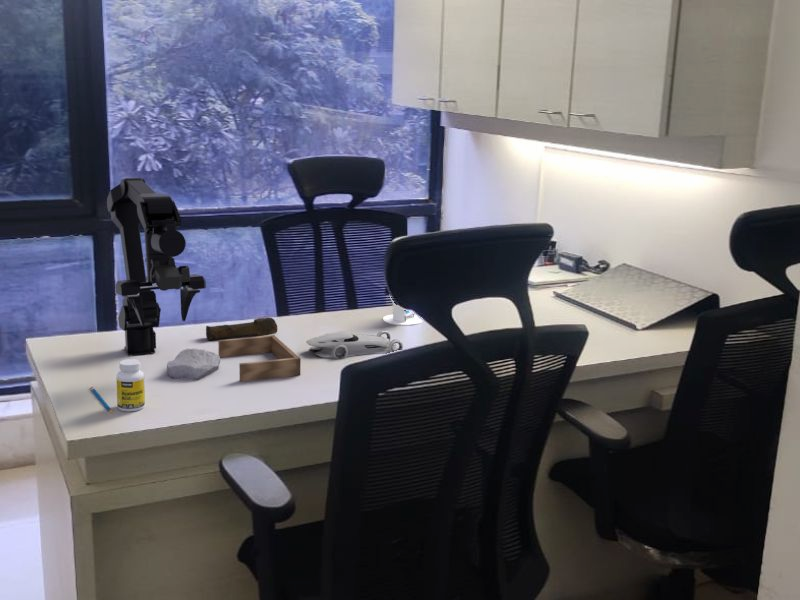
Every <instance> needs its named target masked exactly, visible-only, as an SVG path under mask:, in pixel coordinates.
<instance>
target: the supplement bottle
mask: <svg viewBox="0 0 800 600" xmlns="http://www.w3.org/2000/svg"><path fill="white" fill-rule="evenodd" d="M140 369H141V361H140V360H138V359H134V358H128V359H123V360H121V361H119V370H120V371H118V372H117V374H116V378H115V379H116V400H117V401H116V406H117V409H118V410H119V411H122V412H127V413H128V412H137V411H140V410H142V409H144V408H145V406H146V405H145V403H146V402H145V395H146V394H145V393H146V392H145V391H146V390H145V374H144V371H142V370H140Z"/></svg>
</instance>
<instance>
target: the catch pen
mask: <svg viewBox="0 0 800 600" xmlns="http://www.w3.org/2000/svg"><path fill="white" fill-rule="evenodd" d="M217 340H218V341H217V342H218V356H219V357H220V358H225V357H235V356H237V357H238V356H245V355H257V354H265V353H272V355H274V356H275V358H277V359H269V360H259V361H258V360H257V361H249V362H241V363H239V365H238V367H239V381H240V383H241V382H250V381H259V380H269V379H278V378H286V377H293V376H296V377H297V376H301V361H302V360H301V357H300V356H298V355H297V354H296V353H295V352H294V351H293V350H292V349H291V348H290V347H288V346H287V345H286V344H285V343H284V342H283V341H281V340H280V338H278V336H276V335H273V334H270V335H264V336H252V337H249V336H248V337H239V338H230V339H217Z"/></svg>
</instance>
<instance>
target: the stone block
mask: <svg viewBox="0 0 800 600" xmlns="http://www.w3.org/2000/svg"><path fill="white" fill-rule="evenodd" d="M220 363H221V357H219V354H216V353H215V352H212V351H208V350H205V349H200V348H186V349H182V350H181V351H179V352H178V353H177V355H176V356H175V358H174V359H173V360H169V361H167V364H166V374H167V376H168V377H169V378H170V379H187V380H193V381H196V380H200V379H202V378H204V377H206V376H207V375H210V374H212V373H215V372H217V371H218V370H219V368H220Z"/></svg>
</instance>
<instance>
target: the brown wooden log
mask: <svg viewBox="0 0 800 600" xmlns="http://www.w3.org/2000/svg"><path fill="white" fill-rule="evenodd" d="M277 332H278V325H277V322H276V320H275V319H274V318H273V317H259V318H255V319H253V321H250V322H242V323H235V324H222V325H215V326H214V325H212V326H211V325H206V326H205V336H206V340H208V341H209V342H210V341H212V340H214V341H217V340H219V339H225V338H233V337H234V338H235V337H242V336H249V335H250V336H251V335H253V336H254V335H255V337H260V336H270V335H273V334H275V333H277Z"/></svg>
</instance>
